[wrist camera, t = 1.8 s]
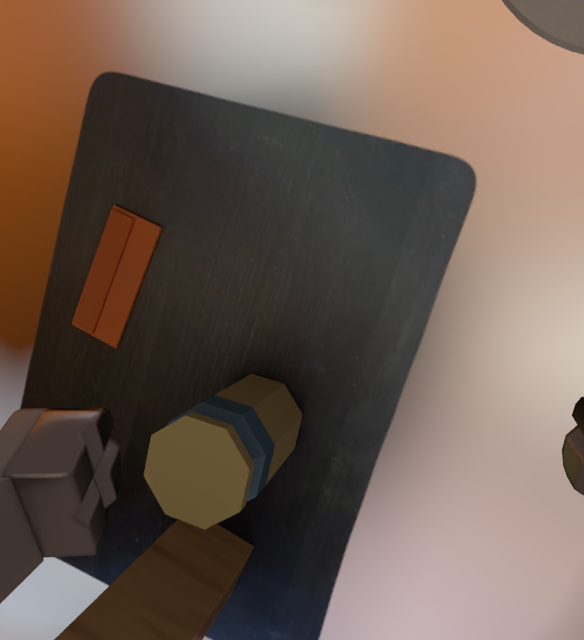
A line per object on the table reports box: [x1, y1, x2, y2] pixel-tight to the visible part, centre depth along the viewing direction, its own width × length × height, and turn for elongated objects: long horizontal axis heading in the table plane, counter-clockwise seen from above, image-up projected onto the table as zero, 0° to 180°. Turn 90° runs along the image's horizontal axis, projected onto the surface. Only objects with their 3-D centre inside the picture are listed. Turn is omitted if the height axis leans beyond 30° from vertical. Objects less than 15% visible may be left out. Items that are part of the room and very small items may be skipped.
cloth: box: [72, 205, 163, 348], centre depth 55 cm, size 14×6×1 cm, turn 156°
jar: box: [144, 374, 302, 530], centre depth 46 cm, size 9×9×15 cm
